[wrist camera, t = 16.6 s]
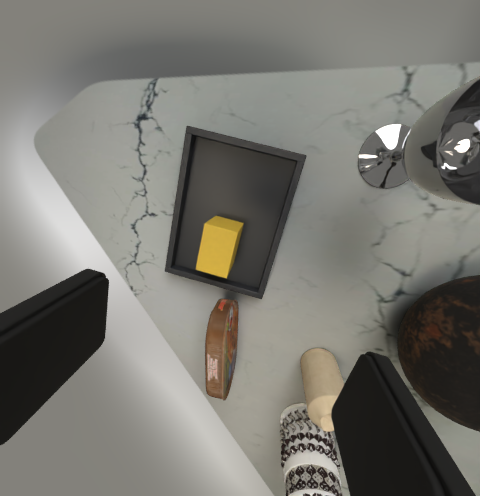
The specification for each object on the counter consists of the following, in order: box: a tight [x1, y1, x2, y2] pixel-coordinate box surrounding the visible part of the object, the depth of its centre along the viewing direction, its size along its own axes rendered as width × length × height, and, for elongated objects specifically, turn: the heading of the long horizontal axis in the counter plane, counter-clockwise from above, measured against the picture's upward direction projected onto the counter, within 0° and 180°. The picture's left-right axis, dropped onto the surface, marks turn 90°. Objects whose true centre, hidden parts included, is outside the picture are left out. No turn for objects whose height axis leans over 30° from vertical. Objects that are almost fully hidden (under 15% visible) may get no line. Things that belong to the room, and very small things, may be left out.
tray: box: [165, 126, 306, 299], centre depth 32 cm, size 20×15×2 cm
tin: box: [205, 299, 238, 400], centre depth 34 cm, size 15×3×8 cm, turn 178°
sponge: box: [196, 216, 244, 278], centre depth 30 cm, size 4×6×6 cm, turn 166°
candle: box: [301, 348, 344, 432], centre depth 33 cm, size 6×6×10 cm
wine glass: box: [358, 76, 480, 205], centre depth 21 cm, size 8×8×15 cm
